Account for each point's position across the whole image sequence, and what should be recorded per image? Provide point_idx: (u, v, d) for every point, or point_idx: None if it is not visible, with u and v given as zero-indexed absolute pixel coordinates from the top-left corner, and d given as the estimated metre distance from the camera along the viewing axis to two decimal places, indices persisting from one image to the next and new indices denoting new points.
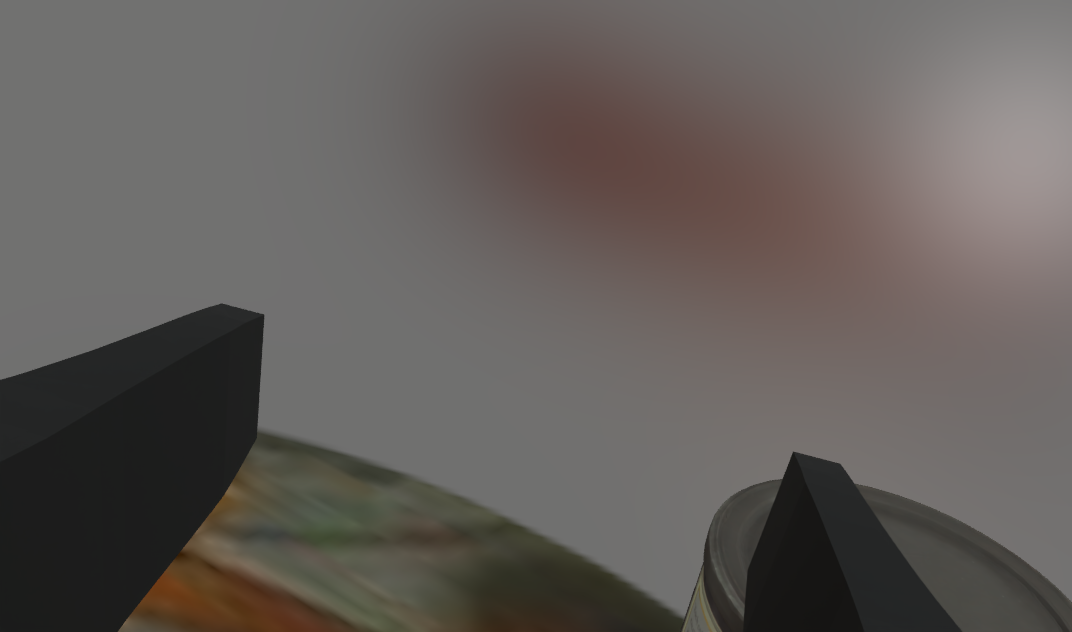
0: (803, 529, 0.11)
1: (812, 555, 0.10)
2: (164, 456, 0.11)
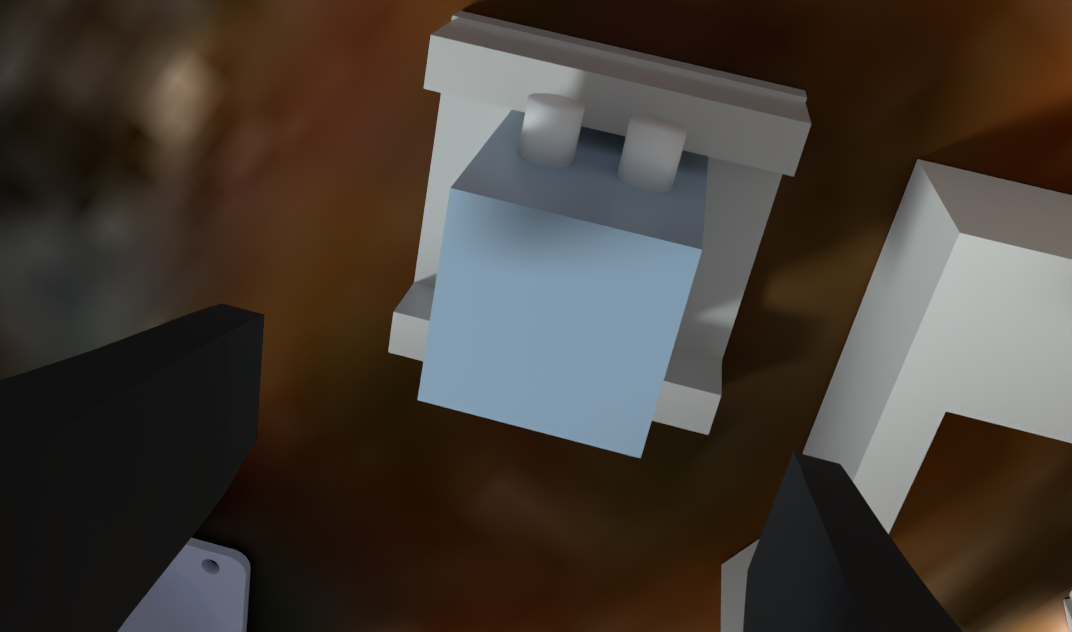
0: (803, 529, 0.11)
1: (812, 555, 0.10)
2: (165, 456, 0.11)
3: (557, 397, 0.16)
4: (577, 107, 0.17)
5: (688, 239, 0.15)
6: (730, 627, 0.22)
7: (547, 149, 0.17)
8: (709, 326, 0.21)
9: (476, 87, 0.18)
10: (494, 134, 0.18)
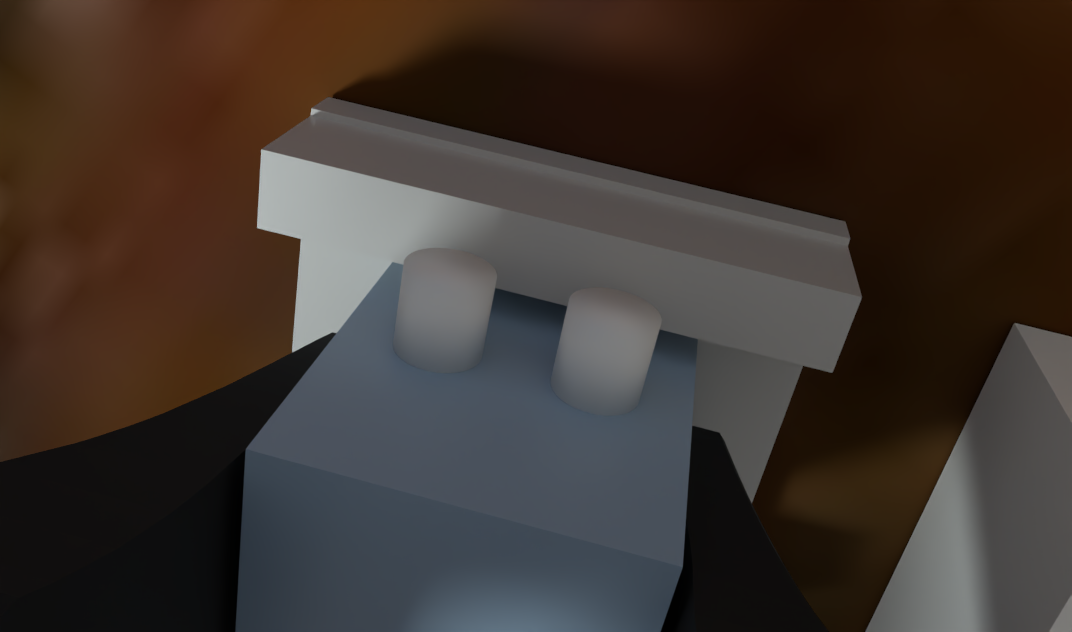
0: None
1: None
2: None
3: None
4: (484, 277, 0.10)
5: (660, 540, 0.09)
6: None
7: (435, 346, 0.10)
8: None
9: (337, 228, 0.12)
10: (363, 303, 0.11)
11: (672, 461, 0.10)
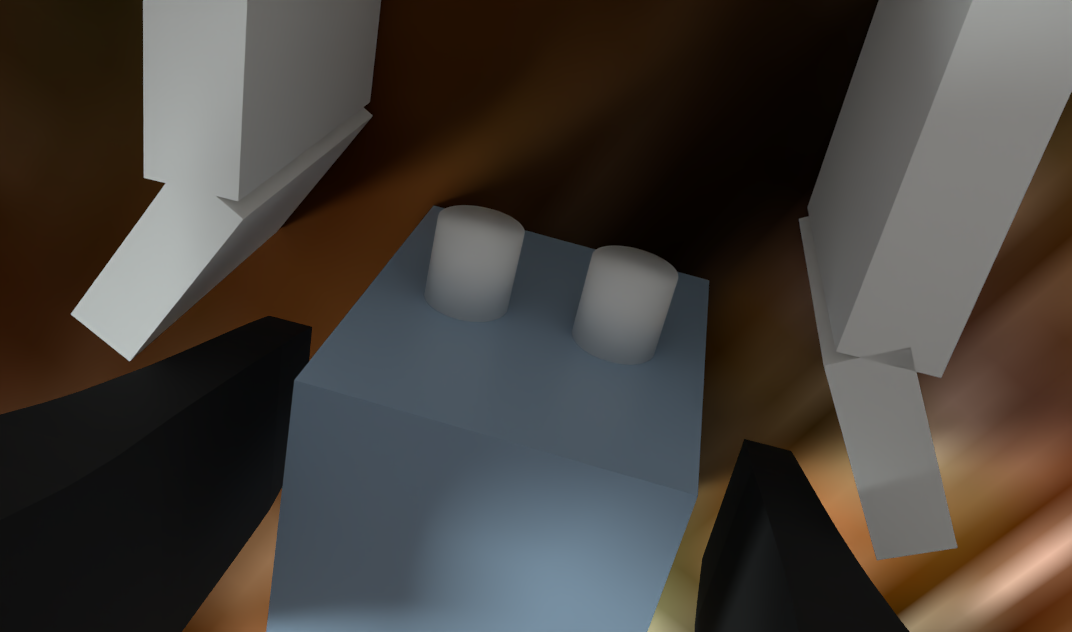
0: (748, 515, 0.11)
1: (755, 540, 0.10)
2: (219, 471, 0.11)
3: None
4: (512, 232, 0.11)
5: (677, 472, 0.09)
6: None
7: (465, 296, 0.11)
8: None
9: None
10: (394, 258, 0.12)
11: (686, 406, 0.10)
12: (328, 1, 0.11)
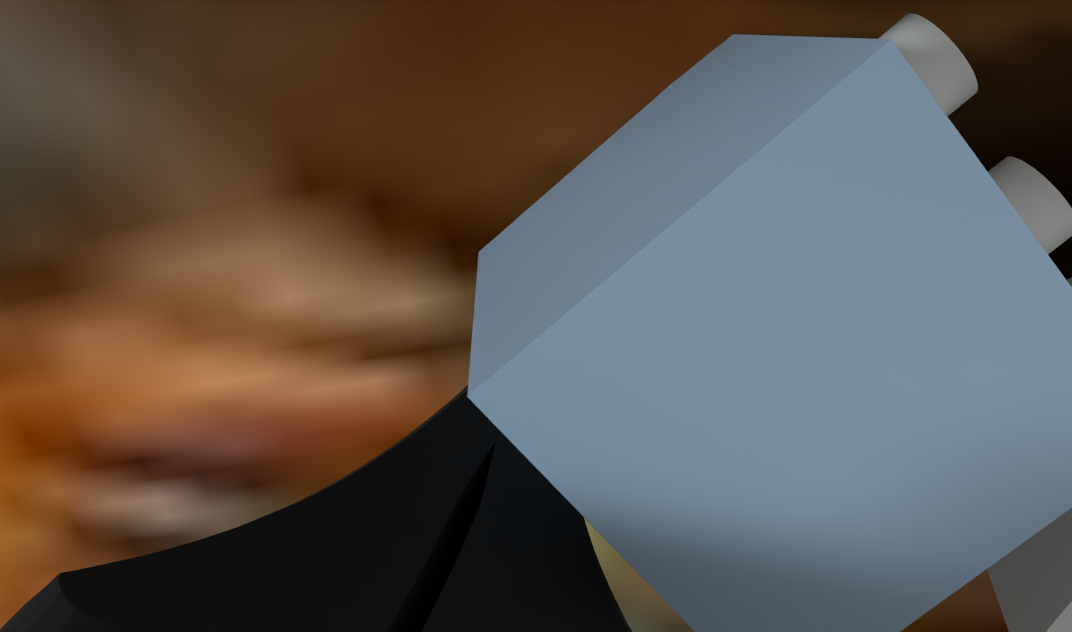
0: None
1: (489, 469, 0.11)
2: None
3: (736, 540, 0.08)
4: None
5: None
6: None
7: None
8: None
9: None
10: None
11: None
12: None
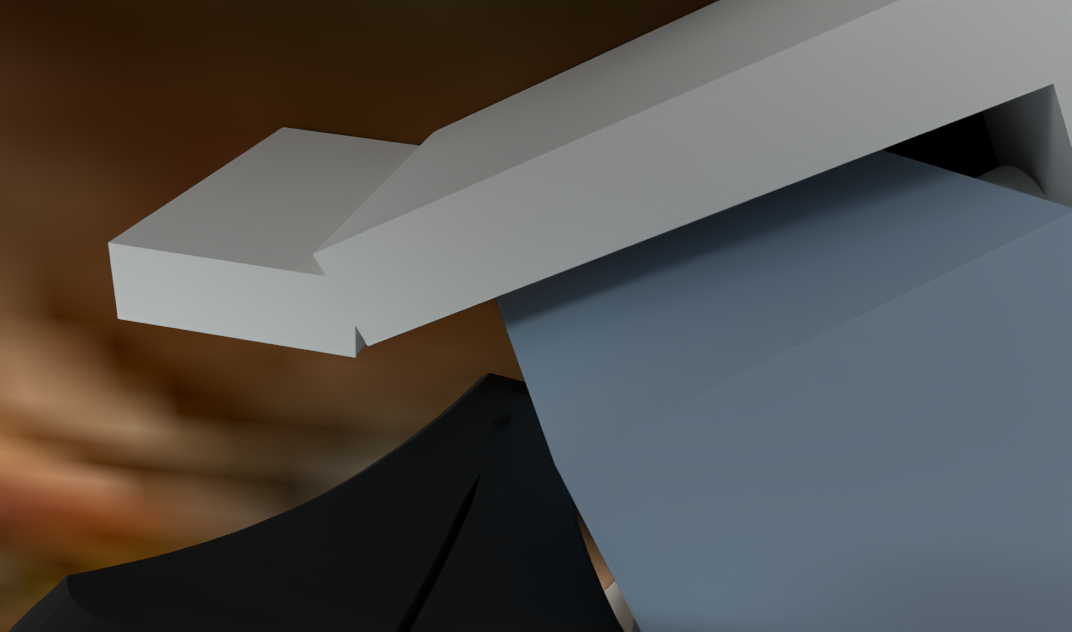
0: None
1: None
2: None
3: None
4: None
5: None
6: (219, 191, 0.10)
7: None
8: None
9: None
10: None
11: None
12: None
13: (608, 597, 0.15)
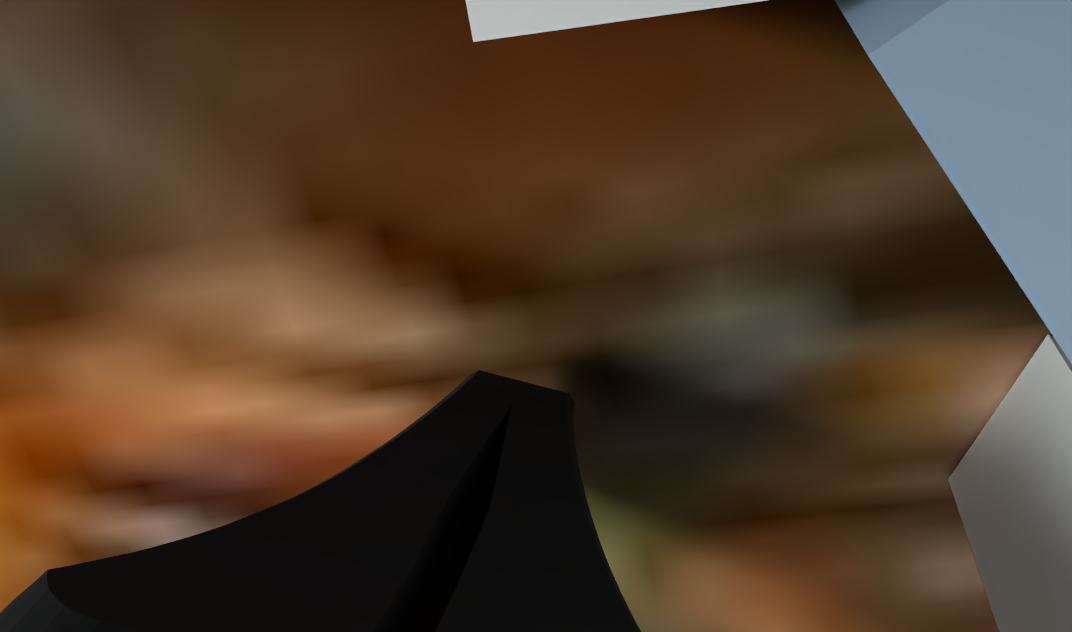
0: None
1: None
2: (462, 537, 0.11)
3: None
4: None
5: None
6: None
7: None
8: None
9: None
10: None
11: None
12: None
13: (1016, 398, 0.12)
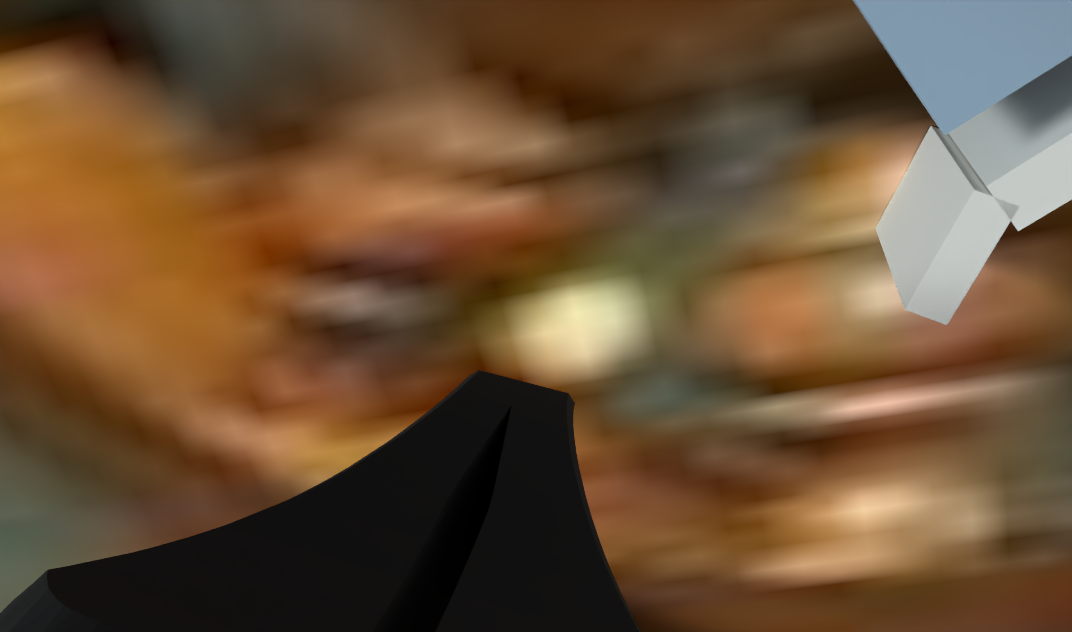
0: None
1: None
2: (462, 537, 0.11)
3: (936, 17, 0.14)
4: None
5: None
6: None
7: None
8: None
9: None
10: None
11: None
12: None
13: (913, 166, 0.20)
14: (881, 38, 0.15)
